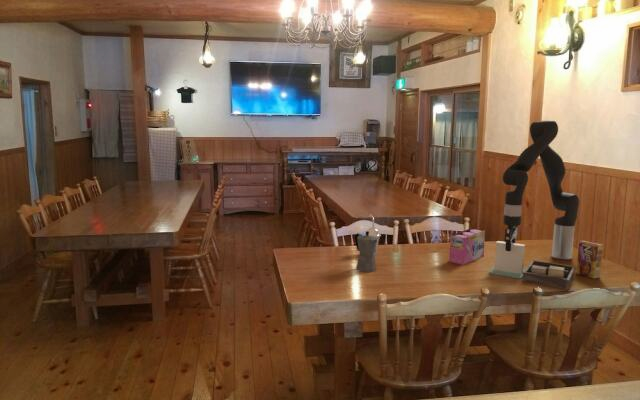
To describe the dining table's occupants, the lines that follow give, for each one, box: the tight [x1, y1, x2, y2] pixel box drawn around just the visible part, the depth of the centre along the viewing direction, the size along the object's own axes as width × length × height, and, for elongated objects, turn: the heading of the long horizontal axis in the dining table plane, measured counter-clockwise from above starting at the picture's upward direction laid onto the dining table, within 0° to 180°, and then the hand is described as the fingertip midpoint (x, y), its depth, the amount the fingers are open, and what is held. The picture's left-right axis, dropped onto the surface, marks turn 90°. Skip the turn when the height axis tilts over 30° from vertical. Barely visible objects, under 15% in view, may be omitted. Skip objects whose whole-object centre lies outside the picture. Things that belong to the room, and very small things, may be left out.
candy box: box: [575, 240, 604, 279], centre depth 219 cm, size 9×4×15 cm, turn 29°
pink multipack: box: [448, 227, 486, 265], centre depth 245 cm, size 24×8×14 cm, turn 136°
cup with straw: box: [364, 213, 382, 256], centre depth 251 cm, size 8×9×20 cm
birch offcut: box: [548, 266, 564, 278], centre depth 209 cm, size 4×6×7 cm
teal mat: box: [488, 267, 526, 280], centre depth 224 cm, size 14×14×1 cm
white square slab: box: [493, 240, 526, 274], centre depth 223 cm, size 4×12×13 cm, turn 57°
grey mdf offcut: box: [531, 265, 547, 275], centre depth 212 cm, size 4×6×6 cm
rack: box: [521, 259, 575, 290], centre depth 214 cm, size 19×18×5 cm
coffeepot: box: [354, 230, 377, 273], centre depth 226 cm, size 15×9×18 cm, turn 33°
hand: (510, 248), depth 222 cm, fingers open, 8 cm apart
